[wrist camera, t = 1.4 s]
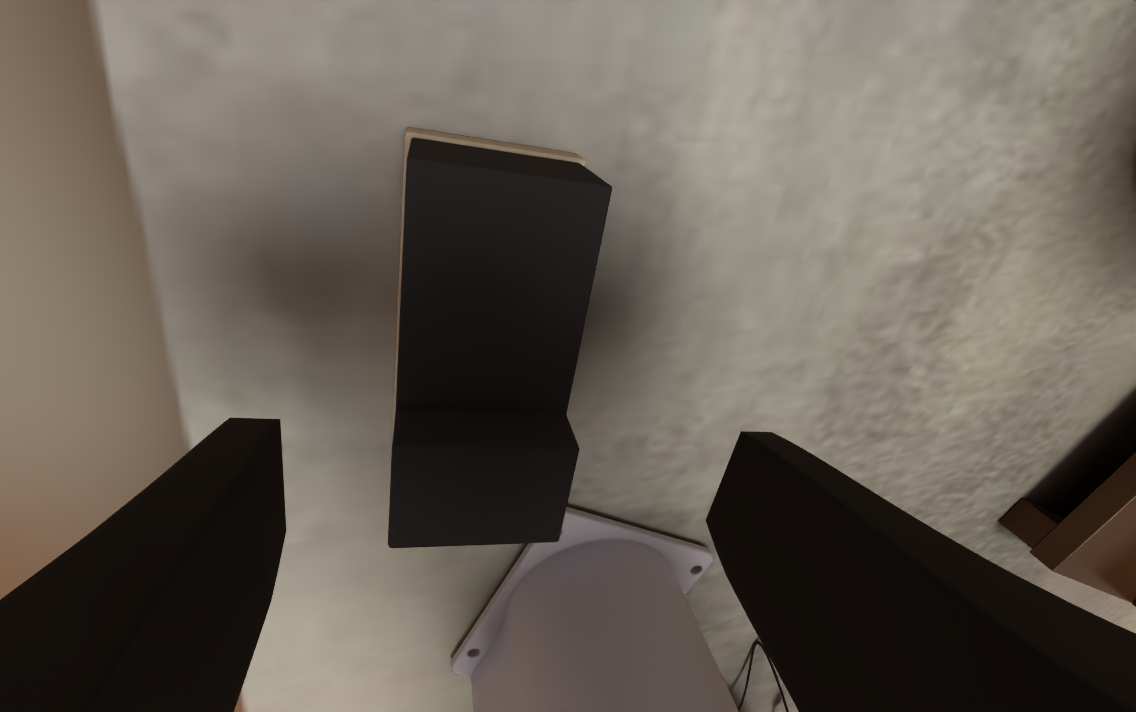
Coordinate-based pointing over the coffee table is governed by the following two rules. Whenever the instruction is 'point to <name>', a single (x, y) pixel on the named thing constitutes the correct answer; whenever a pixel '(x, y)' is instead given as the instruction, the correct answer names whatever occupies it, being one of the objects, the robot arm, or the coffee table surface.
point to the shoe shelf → (1087, 535)
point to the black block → (488, 338)
